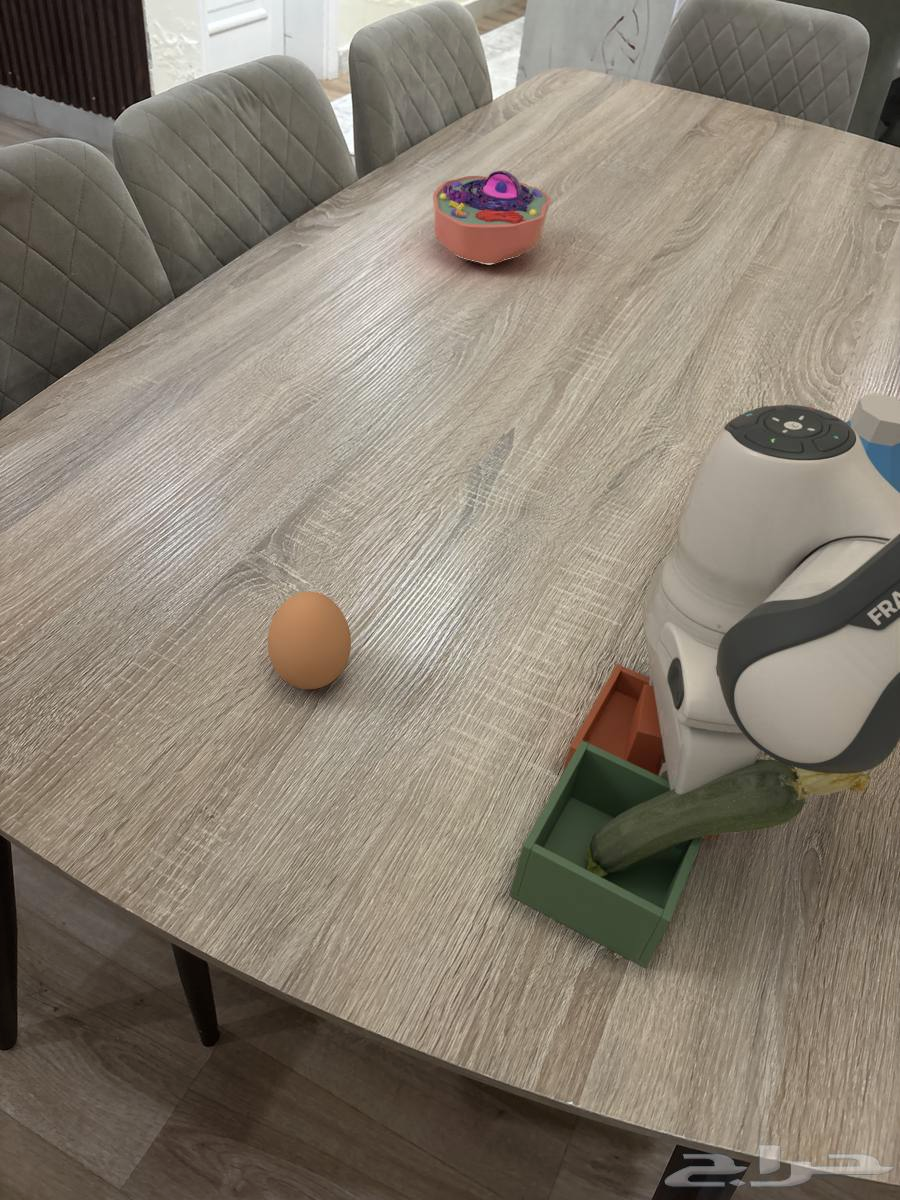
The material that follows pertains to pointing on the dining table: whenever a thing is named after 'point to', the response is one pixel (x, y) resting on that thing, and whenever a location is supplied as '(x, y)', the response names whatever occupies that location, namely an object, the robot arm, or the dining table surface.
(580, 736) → the terracotta tray
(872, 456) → the water bottle
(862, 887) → the dining table surface
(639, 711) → the terracotta block
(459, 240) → the cell model
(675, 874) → the produce bin
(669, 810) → the vegetable
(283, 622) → the egg
